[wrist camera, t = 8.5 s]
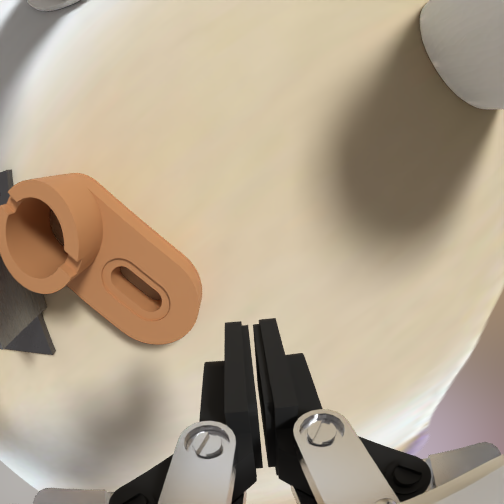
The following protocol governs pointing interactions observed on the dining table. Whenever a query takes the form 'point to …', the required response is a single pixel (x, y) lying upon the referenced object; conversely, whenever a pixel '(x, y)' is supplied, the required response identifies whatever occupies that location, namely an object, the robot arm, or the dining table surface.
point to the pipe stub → (20, 304)
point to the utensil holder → (467, 48)
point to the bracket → (98, 256)
